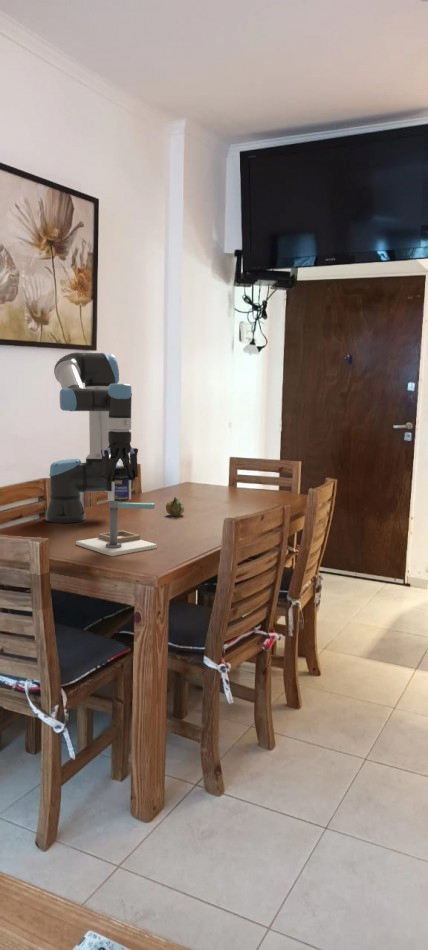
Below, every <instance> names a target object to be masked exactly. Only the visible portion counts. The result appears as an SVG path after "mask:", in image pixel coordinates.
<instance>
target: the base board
mask: <svg viewBox="0 0 428 950" xmlns="http://www.w3.org/2000/svg"><path fill="white" fill-rule="evenodd" d="M118 509H119V508H109V532H104V533H98V536H97V537H95V538H87V539H82V540H76V542H75V543H76V545H77V546H78V547H79V546H80V547H82V548H85V549H88V550H91V551H95V552H98V553H99V554H100V553H101V554H103V555H107V556H109V557H115V556H120V555H126V554H127V555H128V554H131V553H137V552H143V551H147V550H148V551H149V550H154V549H157V548H158V544H157V543H154V542H150V541H146V540H143V539H141V534H137V533H133V532H130V531H126V530H123V529H122V530H119V529H118V522H119V521H118V511H119V510H118Z"/></svg>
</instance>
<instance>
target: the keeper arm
mask: <svg viewBox="0 0 428 950" xmlns="http://www.w3.org/2000/svg"><path fill="white" fill-rule="evenodd" d="M107 505H108V506H107V508H109V509H110V508H118V509H134V510H135V509H137V510H138V509H139V510H140V509H141V510H155V508H156V503H155V502H128V501H124V502H119V501H107Z"/></svg>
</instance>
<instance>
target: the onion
mask: <svg viewBox="0 0 428 950" xmlns="http://www.w3.org/2000/svg"><path fill="white" fill-rule="evenodd" d="M165 511H166V513H167V514H168V515H169V516H172V517H179V516H181V515H182V514H183V513H184V512H185V506H184V504H183V502H182V501H181V500H180V498H178V497H176V496H174V498H173V499H171V500H169V501H168V502H166V505H165Z"/></svg>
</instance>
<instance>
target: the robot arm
mask: <svg viewBox="0 0 428 950" xmlns="http://www.w3.org/2000/svg"><path fill="white" fill-rule="evenodd" d="M117 360H118V359H117V358H116V356H115V355H114V354H111V353H104V352H71V353H68V354H65V355H63V356H62V357H60V358H59V359H58V361H56V364H55V365H54V368H53V369H54V370H53V374H54V376H55V380H56V381H57V382H58V383H59V384H60V388H61V389H60V390H59V409H60V410H62V411H63V412H64V411H65V412H67V411H69V412H70V413H71V412H88V415H89V416H88V419H89V420H88V421H89V422H88V423H89V428H88V429H89V434H88V435H89V453H88V454H87V456H86V457H85V462H82V461H81V459H80V458H68V459H61V460H57V461H54V462H52V463H51V464H50V466H49V475H48V476H49V488H50V489H49V502H48V505H47V510H46V511H45V521H46V522H50V523H55V524H57V523H58V524H67V523H68V524H70V523H80V522H83V521H85V520H86V511H85V509H84V505H83V503H82V501H81V500H82V498H81V494H82V493H107V502H109V501H114V489H115V482H113V481H112V480H113V476H114V473H115V469H116V467H121V465H120V464H121V463H120V462H119V460H121V462H122V467H125V468H127V472H126V475H128V477H129V491H128V500H132V489H133V487H134V485H133V483H134V482H133V481H135V479H136V478H138V477H139V472H138V471H139V470H138V469H139V467H138V453H139V449H138V448H136V447H132V446H131V443H132V432H131V430H132V397H133V393H132V385H131V384H128V383H119V382H120V372H119V371H120V370H119V365H118V361H117Z"/></svg>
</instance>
